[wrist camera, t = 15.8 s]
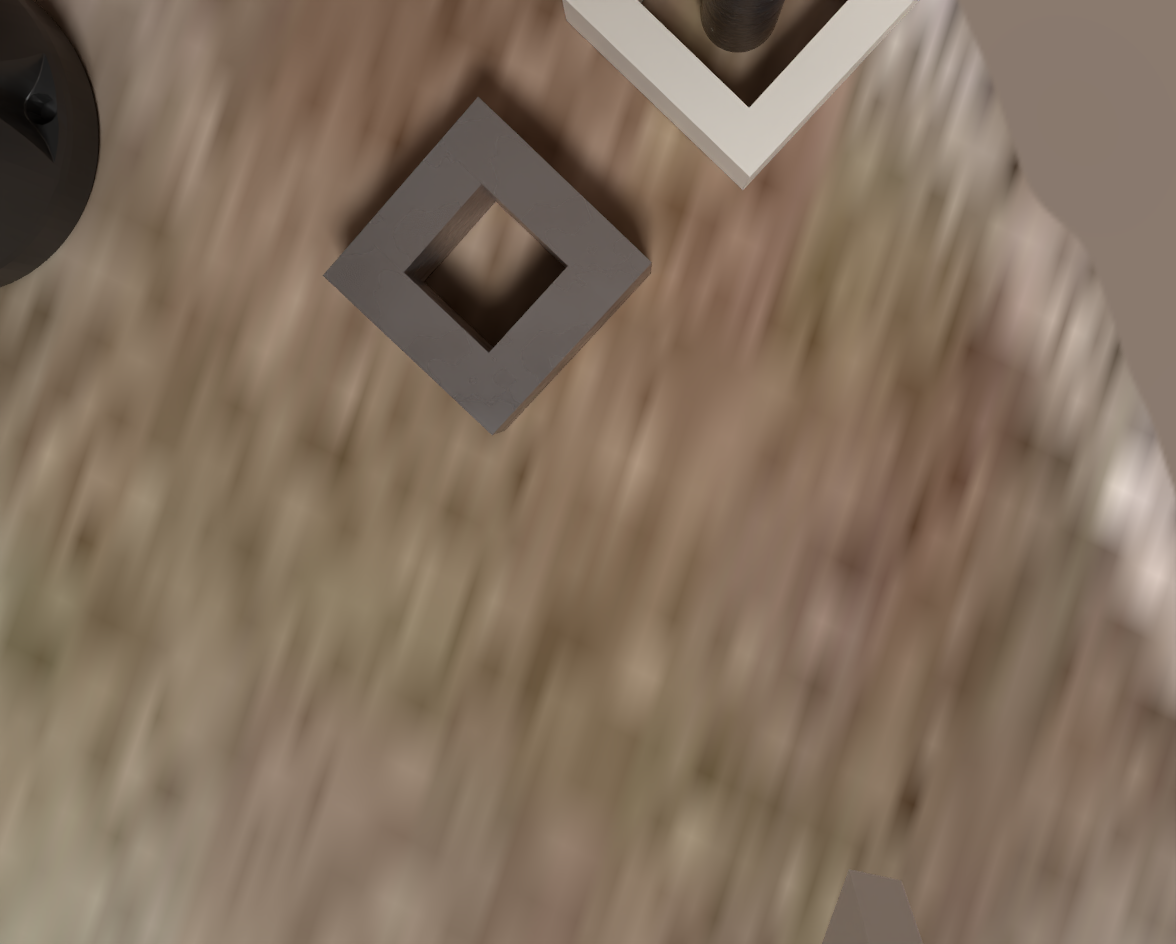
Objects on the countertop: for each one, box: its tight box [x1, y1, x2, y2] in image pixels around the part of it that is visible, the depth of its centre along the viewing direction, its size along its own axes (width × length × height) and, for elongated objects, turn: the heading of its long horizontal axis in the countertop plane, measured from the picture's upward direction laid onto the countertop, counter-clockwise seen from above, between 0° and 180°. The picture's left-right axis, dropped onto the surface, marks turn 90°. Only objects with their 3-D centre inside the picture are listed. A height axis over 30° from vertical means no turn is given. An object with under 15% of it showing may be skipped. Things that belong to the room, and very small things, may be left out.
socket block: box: [323, 97, 652, 435], centre depth 38 cm, size 10×10×4 cm
